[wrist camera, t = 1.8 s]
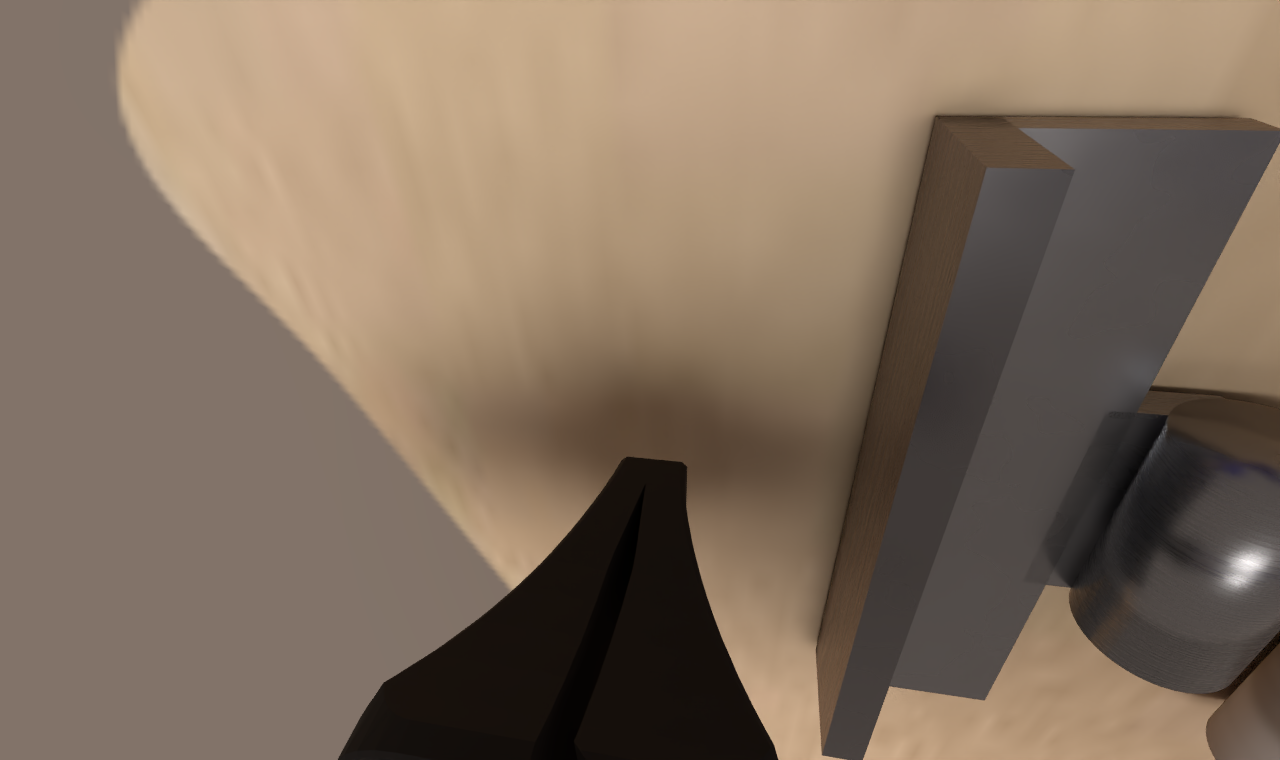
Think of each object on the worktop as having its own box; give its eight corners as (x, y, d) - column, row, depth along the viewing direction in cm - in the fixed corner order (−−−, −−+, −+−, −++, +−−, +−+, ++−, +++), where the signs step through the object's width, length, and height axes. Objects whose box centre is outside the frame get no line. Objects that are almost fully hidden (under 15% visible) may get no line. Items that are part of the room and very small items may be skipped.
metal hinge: (1514, 120, 9) (1805, 187, 6) (1103, 691, 17) (1159, 816, 15) (935, 116, 10) (989, 169, 8) (815, 650, 19) (821, 759, 16)
